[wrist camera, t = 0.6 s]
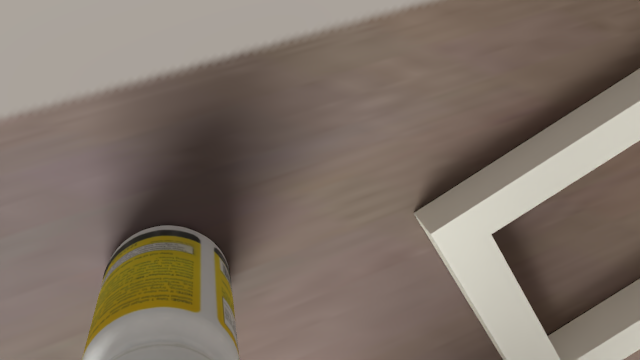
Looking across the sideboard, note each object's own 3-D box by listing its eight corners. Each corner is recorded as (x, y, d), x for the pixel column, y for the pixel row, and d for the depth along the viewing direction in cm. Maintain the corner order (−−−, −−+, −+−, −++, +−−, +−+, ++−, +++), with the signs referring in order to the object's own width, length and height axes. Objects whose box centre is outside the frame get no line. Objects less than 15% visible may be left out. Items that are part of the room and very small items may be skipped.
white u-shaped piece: (714, 259, 29) (749, 280, 27) (517, 382, 29) (538, 411, 28) (644, 65, 25) (680, 75, 23) (413, 212, 25) (430, 233, 23)
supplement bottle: (79, 286, 24) (22, 451, 16) (159, 198, 23) (140, 326, 15) (178, 348, 25) (170, 524, 18) (255, 268, 25) (281, 415, 17)
